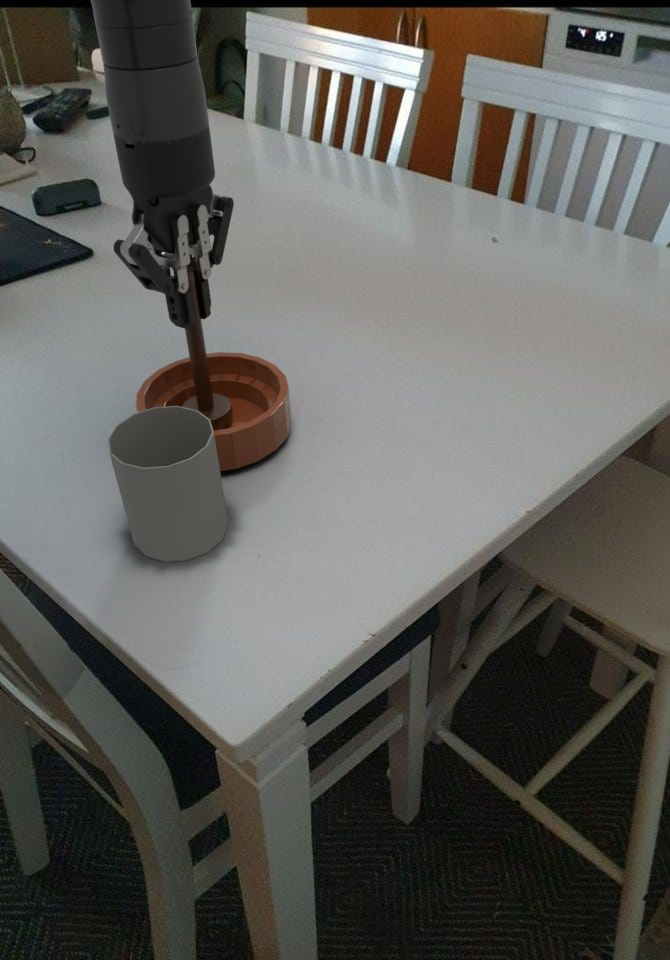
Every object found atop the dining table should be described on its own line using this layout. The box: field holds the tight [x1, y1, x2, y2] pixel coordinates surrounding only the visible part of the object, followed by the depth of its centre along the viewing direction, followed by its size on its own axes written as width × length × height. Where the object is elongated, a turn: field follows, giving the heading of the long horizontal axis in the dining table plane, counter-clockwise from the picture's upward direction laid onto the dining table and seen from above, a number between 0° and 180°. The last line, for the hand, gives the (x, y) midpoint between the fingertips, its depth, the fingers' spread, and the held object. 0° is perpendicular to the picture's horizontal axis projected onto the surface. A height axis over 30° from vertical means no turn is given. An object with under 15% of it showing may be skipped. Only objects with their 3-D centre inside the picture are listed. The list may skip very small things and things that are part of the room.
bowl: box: [135, 351, 292, 472], centre depth 80 cm, size 15×15×5 cm
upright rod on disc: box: [182, 266, 233, 431], centre depth 76 cm, size 5×5×16 cm
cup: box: [107, 406, 230, 563], centre depth 68 cm, size 8×8×10 cm
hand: (192, 320), depth 74 cm, fingers closed on upright rod on disc
